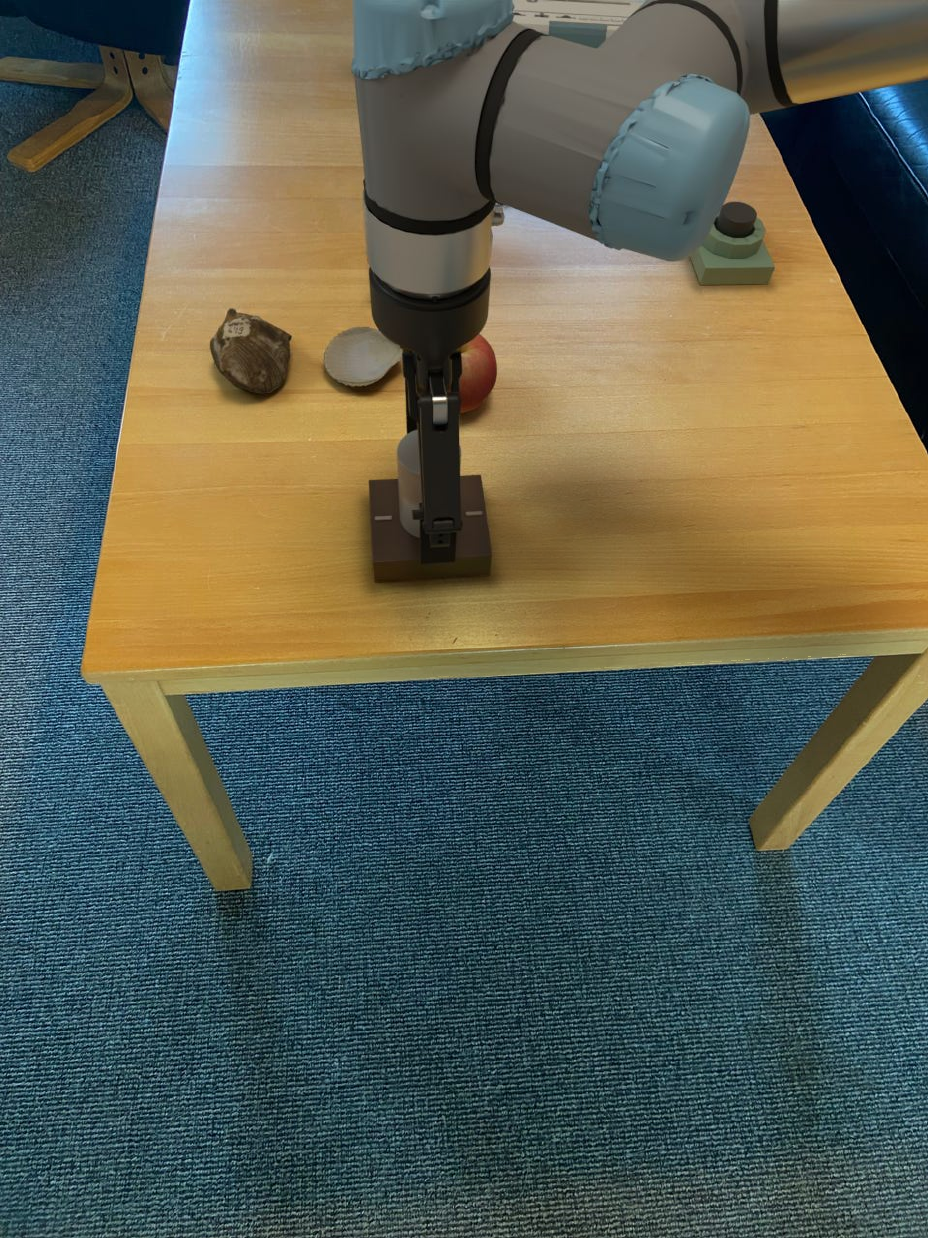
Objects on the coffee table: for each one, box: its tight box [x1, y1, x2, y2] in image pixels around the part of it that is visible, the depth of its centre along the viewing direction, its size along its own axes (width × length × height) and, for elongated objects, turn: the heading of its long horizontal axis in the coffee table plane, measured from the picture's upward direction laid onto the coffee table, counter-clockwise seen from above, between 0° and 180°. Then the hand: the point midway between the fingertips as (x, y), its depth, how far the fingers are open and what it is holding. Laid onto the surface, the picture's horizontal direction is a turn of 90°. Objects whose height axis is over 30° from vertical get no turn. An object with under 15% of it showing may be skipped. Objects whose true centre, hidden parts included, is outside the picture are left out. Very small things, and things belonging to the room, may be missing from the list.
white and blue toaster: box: [512, 0, 646, 48], centre depth 103 cm, size 21×8×20 cm, turn 88°
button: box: [716, 201, 758, 238], centre depth 93 cm, size 4×4×2 cm
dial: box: [396, 430, 462, 538], centre depth 68 cm, size 5×5×8 cm
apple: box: [448, 333, 498, 414], centre depth 80 cm, size 8×8×8 cm
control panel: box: [368, 474, 493, 583], centre depth 72 cm, size 10×9×3 cm
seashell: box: [323, 326, 402, 388], centre depth 84 cm, size 8×3×8 cm
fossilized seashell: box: [209, 308, 293, 394], centre depth 82 cm, size 8×7×10 cm
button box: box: [689, 213, 776, 286], centre depth 95 cm, size 10×8×4 cm
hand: (429, 492), depth 68 cm, fingers open, 13 cm apart
